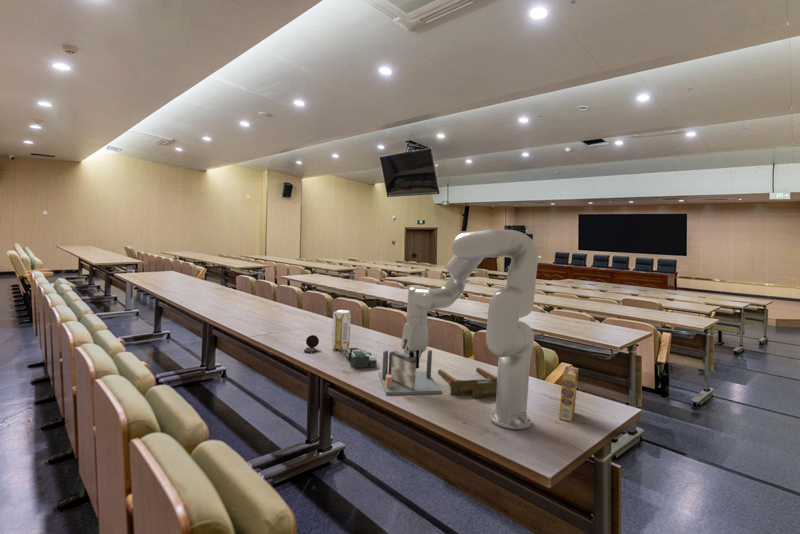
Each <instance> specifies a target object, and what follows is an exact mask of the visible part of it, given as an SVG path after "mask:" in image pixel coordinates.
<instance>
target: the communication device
mask: <svg viewBox="0 0 800 534" xmlns="http://www.w3.org/2000/svg"><path fill="white" fill-rule="evenodd" d="M344 355H345V356H346V357H347V360H348V361H349V363H351V364H350V365H351V366H352V368H353V369H360V368H364V369H365V368H368V367H370V368H375V367H377V364H378V363H377V362H378V361H377V360H378V359H377V357H376V356H375V353H372V352H371V351H366V350H365V349H363V348H360V347H350V348H349V347H348V348H347V349H346V350H345V351H344Z"/></svg>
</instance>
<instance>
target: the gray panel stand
mask: <svg viewBox="0 0 800 534" xmlns="http://www.w3.org/2000/svg"><path fill="white" fill-rule="evenodd" d="M426 353H427V355H426V356H427V357H426V370H423V371H417V370H416V375H415V388H413V389H411V388H409V387H407V386H405V385H403V384H401V383H399V382H397V381H395V380H393V379H392V375H389V350H387V349H385V350H383V351H382V369H381V371H379V372H378V377H379V380H380V382H381V385H382V388H383V390H384V393H385V395H386V396H391V395H395V396H396V395H397V396H399V395H429V394H431V395H432V394H434V395H435V394H442V392H443V390H442V389H441V387H439V385H438V384H437V383H436V382H435V380H434V379H433V377H432V363H433V362H432V359H433V358H432V357H433V350H431V349H430V350H429V349H428V350H427V352H426Z"/></svg>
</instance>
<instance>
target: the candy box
mask: <svg viewBox="0 0 800 534" xmlns="http://www.w3.org/2000/svg"><path fill="white" fill-rule="evenodd" d="M578 377H579V368H577V367H574V366H573V367H572V366H565V368H564V371H563V373H562V381H561V391H560V399H559V400H560V402H559V411H558V419H560V420H562V421H566V422H572V421H573V417H574V415H575V412H576V411H575V409H576V399H577V388H578V379H579V378H578Z"/></svg>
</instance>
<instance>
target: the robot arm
mask: <svg viewBox="0 0 800 534" xmlns="http://www.w3.org/2000/svg"><path fill="white" fill-rule="evenodd" d="M451 250H452V253H453V256H452V257H451V259H450V260H449V261H448V262H447V264H446V266H445V267H446V271H447V272H448V274H449V275H450V276H449V278H448V280H447V281H446V282H445V283H444V285H442V287H438V288H430V289H428V288H426V287H423V286H411V287H409V288H408V291H407V304H406V305H407V306H406V308H407V310H406V322H405V323H404V325H403V329H402V337H401V349H403V354H404V355H407V356H409V357H412V358H414V359H417V362H416V370H417V369H419V368H420V358H421V356H422V354H423V353H424V352H425V351H426V350H427V348H428V346H429V345H428V344H429V326H428V323H427V320H428V311H434V310H435V311H436V310H439V309H446V308H449V307H450V306H452V305H453V304H454V303H455V302H456V301H457V300H458V298H459V297H460V296H461V295H462V294H463V292H464V290H465V287H466V283H467V279H468V278H469V277H470V275H471V274H472V273H473V272H474V271H475V270H476V268H477V267H478V266H479V265H480V264H481V263H482V261H483V260H484V259H487V258H491V259H492V258H510V259H511V261H510V264H509V266H508V270H507V274H506V276H507V278H506V285H505V287H504V288H500V289H499V290H496V291H495V292H494V293H493V295H492V296H491V298H490V301H489V303H488V308H487V309H488V310H487V311H488V312H487V323H486V331H485V341H486V346H487V348H488V350H489V352H490V353H491V354H492V355H493V356H496V357H497V358H498V362H497V363H498V364H497V373H496V374H497V375H496V377H497V388H496V397H495V408H494V409H495V410H492V411H491V412H490V413H489V418H490V420H491V422H492V423H493V424H495V425H497V426H499V427H501V428H504V429H509V430H525V429H528V428H530V427H531V426H532V418H531V417H530V416H529V415H528V400H529V399H528V397H529V396H528V394H529V381H530V370H531V369H530V368H531V367H530V366H531V358H532V353H533V348H534V343H535V337H534V332H533V329H532V328H531V326H530V325H529V324H527V323H526V322H525V321H521V320H520V319H521V318H524V317H527V316H529V315H530V314H531V313H532V311H533V308H534V305H535V295H536V294H535V292H536V284H537V273H538V272H537V271H538V264H539V251H538V247H537V245H536V243H535V242H534V240H533V239H532V238H531V237H530V236H529V235H527V234H525V233H523V232H521V231H518V230H513V229H504V228H503V229H502V228H492V229H482V230H476V231H468V232H462V233H460V234H458V235H457V236H456V237H455V238H454V239H453V241H452V244H451Z"/></svg>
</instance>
